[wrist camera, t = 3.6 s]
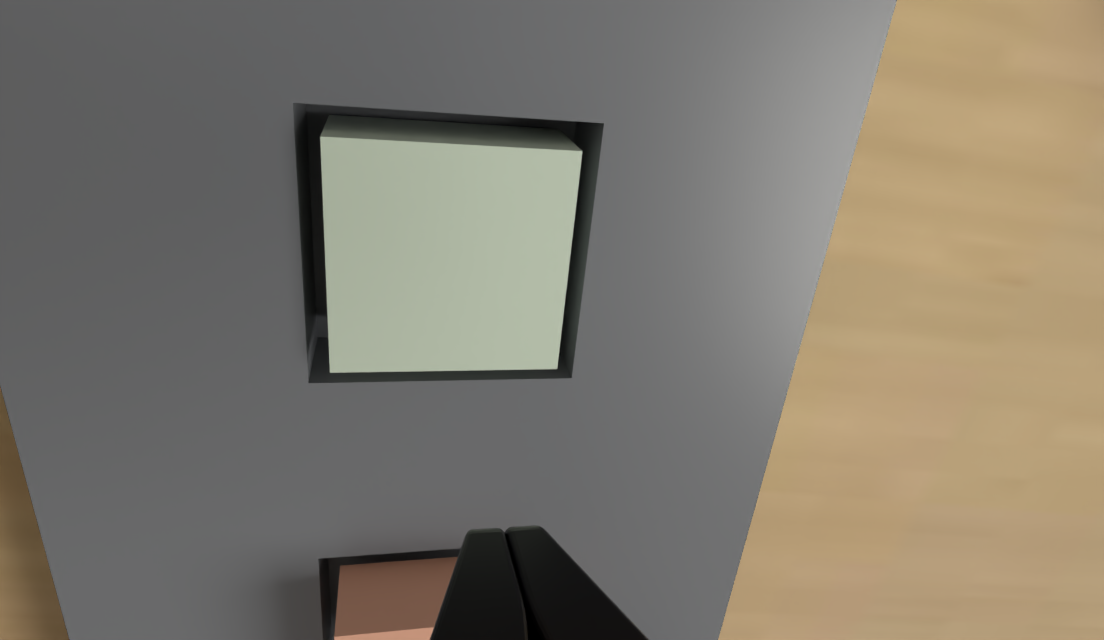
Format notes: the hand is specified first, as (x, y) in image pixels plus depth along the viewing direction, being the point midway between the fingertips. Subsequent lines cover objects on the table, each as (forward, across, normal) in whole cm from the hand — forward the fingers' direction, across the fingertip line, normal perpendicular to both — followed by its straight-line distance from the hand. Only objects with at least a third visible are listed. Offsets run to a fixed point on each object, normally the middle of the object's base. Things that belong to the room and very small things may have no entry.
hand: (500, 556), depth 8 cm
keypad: (+10, 0, +9) cm, 13 cm away
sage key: (+8, 0, -1) cm, 8 cm away
